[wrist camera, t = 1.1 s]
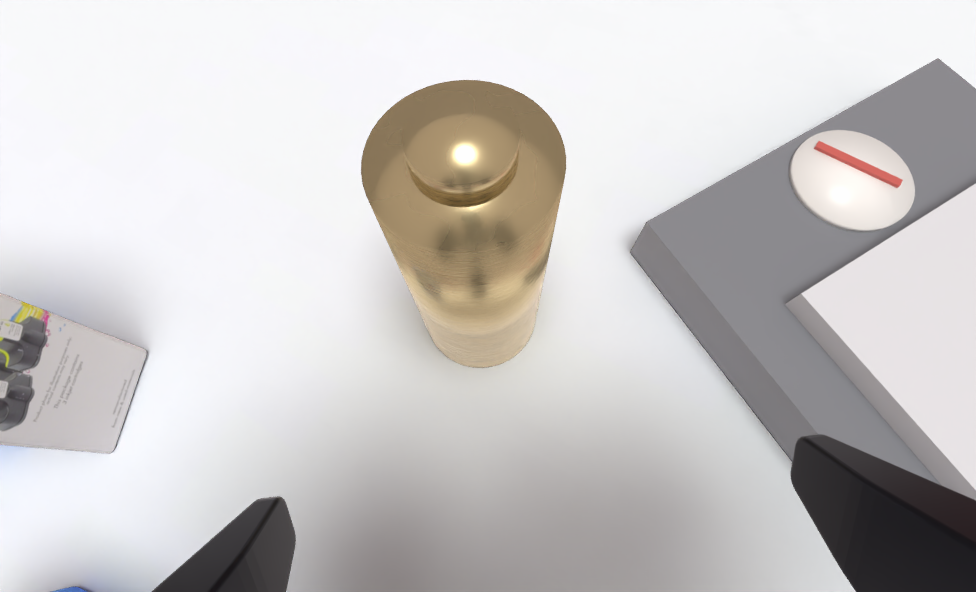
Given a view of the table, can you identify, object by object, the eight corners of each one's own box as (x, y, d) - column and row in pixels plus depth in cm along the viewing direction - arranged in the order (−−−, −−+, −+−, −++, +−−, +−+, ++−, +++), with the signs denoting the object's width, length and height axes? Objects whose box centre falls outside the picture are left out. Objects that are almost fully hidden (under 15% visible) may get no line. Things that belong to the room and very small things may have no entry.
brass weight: (460, 388, 23) (412, 272, 11) (407, 296, 24) (315, 104, 12) (556, 332, 23) (615, 163, 11) (499, 247, 25) (498, 21, 13)
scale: (955, 671, 18) (1077, 720, 14) (630, 252, 25) (654, 207, 21) (1254, 417, 21) (1423, 401, 17) (894, 101, 28) (958, 38, 24)
